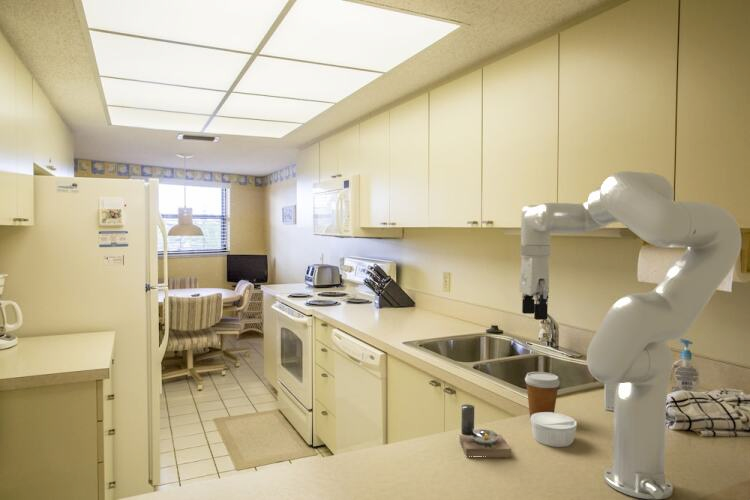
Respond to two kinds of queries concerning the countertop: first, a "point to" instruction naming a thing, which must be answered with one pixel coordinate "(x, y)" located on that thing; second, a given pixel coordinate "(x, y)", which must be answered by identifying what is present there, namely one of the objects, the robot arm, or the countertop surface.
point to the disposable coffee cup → (541, 391)
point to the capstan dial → (477, 435)
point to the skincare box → (610, 396)
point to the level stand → (485, 447)
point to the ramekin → (553, 429)
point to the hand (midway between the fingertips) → (534, 316)
